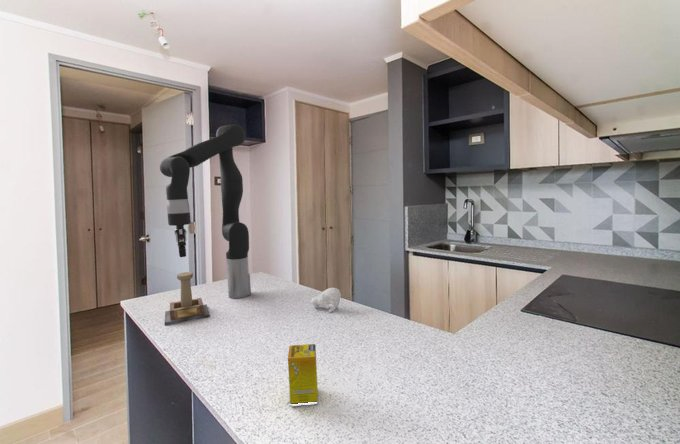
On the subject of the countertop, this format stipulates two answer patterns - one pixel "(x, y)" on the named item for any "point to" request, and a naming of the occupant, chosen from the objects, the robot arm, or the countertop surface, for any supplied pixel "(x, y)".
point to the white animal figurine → (327, 299)
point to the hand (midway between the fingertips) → (182, 255)
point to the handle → (185, 288)
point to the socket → (186, 312)
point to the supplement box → (302, 373)
